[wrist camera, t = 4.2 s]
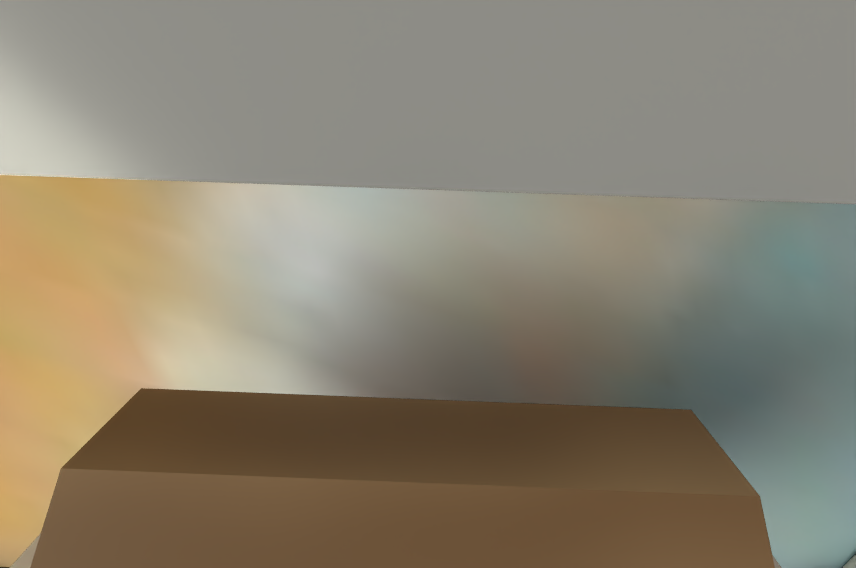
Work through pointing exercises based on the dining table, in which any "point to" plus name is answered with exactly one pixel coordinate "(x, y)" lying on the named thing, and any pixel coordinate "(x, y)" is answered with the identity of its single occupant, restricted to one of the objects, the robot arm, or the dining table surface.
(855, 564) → the ceramic mug
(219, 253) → the dining table surface
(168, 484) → the loose roller
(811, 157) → the slab
